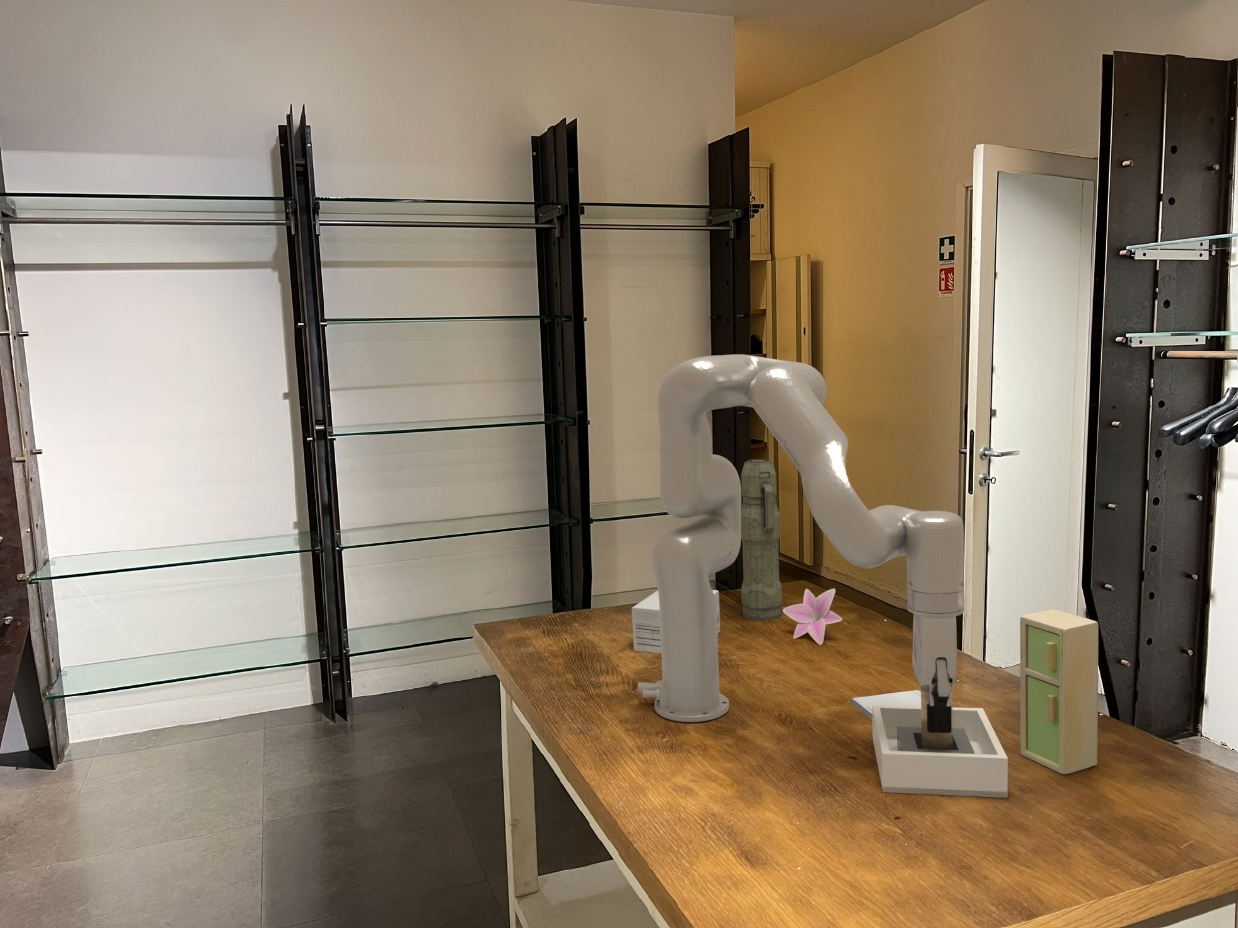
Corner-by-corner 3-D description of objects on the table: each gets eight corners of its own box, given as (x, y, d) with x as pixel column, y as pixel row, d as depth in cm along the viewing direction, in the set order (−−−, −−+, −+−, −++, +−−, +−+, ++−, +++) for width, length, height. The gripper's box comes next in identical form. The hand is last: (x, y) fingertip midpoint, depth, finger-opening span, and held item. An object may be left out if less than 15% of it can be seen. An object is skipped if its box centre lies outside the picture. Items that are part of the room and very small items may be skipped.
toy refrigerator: (1014, 755, 137) (1016, 615, 134) (1051, 744, 140) (1054, 607, 137) (1059, 777, 129) (1062, 630, 127) (1097, 765, 132) (1101, 621, 130)
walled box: (882, 791, 127) (882, 753, 127) (872, 739, 144) (872, 705, 143) (1007, 797, 124) (1007, 758, 124) (982, 743, 141) (982, 708, 140)
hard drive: (873, 715, 150) (943, 705, 153) (850, 697, 158) (916, 687, 161) (873, 725, 151) (943, 715, 153) (850, 706, 159) (916, 697, 161)
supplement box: (664, 626, 206) (662, 585, 205) (721, 632, 200) (719, 589, 199) (632, 650, 191) (630, 606, 190) (692, 657, 185) (690, 611, 184)
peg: (923, 751, 132) (922, 683, 131) (919, 739, 136) (919, 672, 135) (955, 752, 131) (954, 683, 130) (950, 740, 135) (949, 673, 134)
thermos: (758, 624, 204) (754, 465, 199) (732, 610, 215) (727, 459, 210) (793, 618, 207) (790, 461, 203) (765, 605, 218) (761, 456, 213)
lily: (780, 633, 200) (771, 602, 195) (824, 606, 203) (816, 574, 198) (814, 666, 190) (806, 633, 185) (860, 636, 193) (853, 603, 188)
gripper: (901, 584, 140) (902, 702, 142) (914, 617, 124) (916, 749, 126) (953, 584, 139) (954, 703, 141) (974, 617, 122) (975, 751, 124)
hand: (936, 723), depth 133 cm, fingers closed on peg, 4 cm apart
